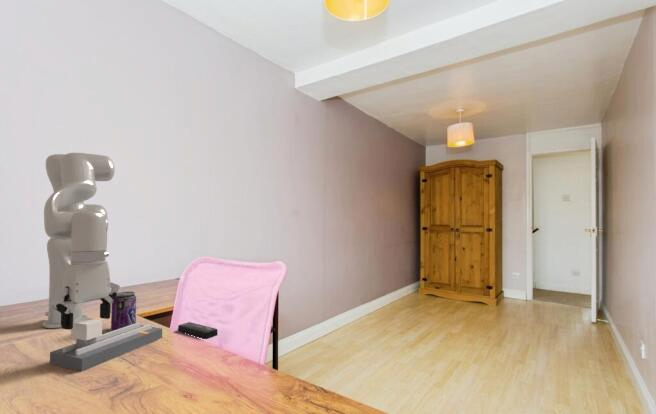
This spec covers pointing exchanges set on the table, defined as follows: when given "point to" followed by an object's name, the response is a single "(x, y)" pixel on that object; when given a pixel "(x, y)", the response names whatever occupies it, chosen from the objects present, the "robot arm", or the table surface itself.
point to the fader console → (105, 347)
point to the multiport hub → (197, 330)
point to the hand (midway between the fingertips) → (87, 323)
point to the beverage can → (123, 310)
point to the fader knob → (86, 331)
